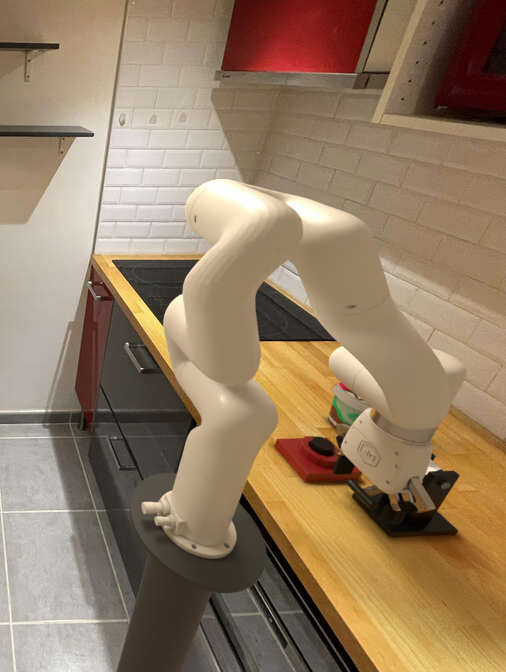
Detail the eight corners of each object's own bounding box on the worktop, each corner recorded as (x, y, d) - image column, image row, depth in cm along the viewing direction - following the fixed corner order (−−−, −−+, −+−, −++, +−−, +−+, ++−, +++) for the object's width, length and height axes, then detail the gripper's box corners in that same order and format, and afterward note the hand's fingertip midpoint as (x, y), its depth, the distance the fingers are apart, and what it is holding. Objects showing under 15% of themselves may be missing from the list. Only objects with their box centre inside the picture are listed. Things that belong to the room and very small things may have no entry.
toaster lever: (370, 512, 76) (368, 504, 75) (346, 487, 80) (345, 479, 79) (451, 485, 74) (451, 475, 73) (422, 460, 78) (421, 452, 77)
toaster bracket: (389, 537, 76) (421, 484, 71) (351, 496, 83) (377, 445, 78) (455, 535, 77) (492, 482, 71) (412, 495, 84) (442, 444, 79)
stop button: (318, 456, 87) (321, 450, 87) (305, 442, 91) (308, 436, 90) (336, 456, 88) (339, 449, 87) (322, 442, 91) (325, 436, 90)
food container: (325, 435, 98) (342, 399, 93) (319, 417, 103) (335, 382, 98) (397, 455, 93) (417, 418, 89) (387, 435, 98) (406, 399, 94)
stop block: (304, 482, 86) (311, 467, 85) (273, 446, 95) (279, 432, 93) (358, 480, 87) (366, 465, 85) (323, 445, 95) (330, 430, 93)
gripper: (336, 385, 78) (306, 457, 85) (432, 465, 62) (386, 545, 69) (377, 384, 78) (344, 456, 85) (484, 463, 63) (432, 543, 70)
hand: (363, 496), depth 77 cm, fingers open, 9 cm apart
